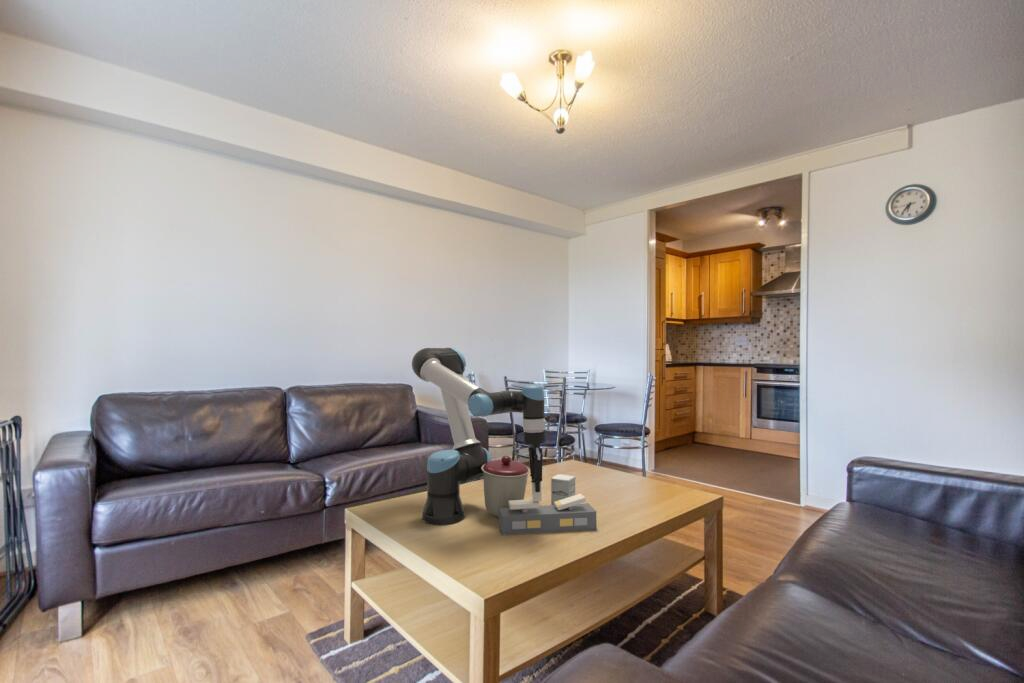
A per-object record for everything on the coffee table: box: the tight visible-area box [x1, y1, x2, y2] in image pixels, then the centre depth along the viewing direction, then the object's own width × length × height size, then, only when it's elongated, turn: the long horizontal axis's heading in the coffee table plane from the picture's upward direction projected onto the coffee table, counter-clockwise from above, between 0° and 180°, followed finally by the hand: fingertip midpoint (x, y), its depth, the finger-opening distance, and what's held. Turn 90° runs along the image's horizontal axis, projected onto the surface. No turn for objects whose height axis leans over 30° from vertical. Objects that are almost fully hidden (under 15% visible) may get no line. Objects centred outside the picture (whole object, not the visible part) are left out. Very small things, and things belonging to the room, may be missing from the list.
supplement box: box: [550, 473, 576, 505], centre depth 180 cm, size 7×7×13 cm
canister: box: [481, 455, 530, 518], centre depth 176 cm, size 18×18×21 cm
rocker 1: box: [508, 498, 541, 509], centre depth 161 cm, size 10×5×2 cm, turn 98°
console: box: [498, 502, 598, 536], centre depth 162 cm, size 32×9×8 cm, turn 98°
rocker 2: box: [554, 493, 587, 510], centre depth 163 cm, size 10×5×2 cm, turn 99°
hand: (537, 500), depth 161 cm, fingers closed, pressing on rocker 1
